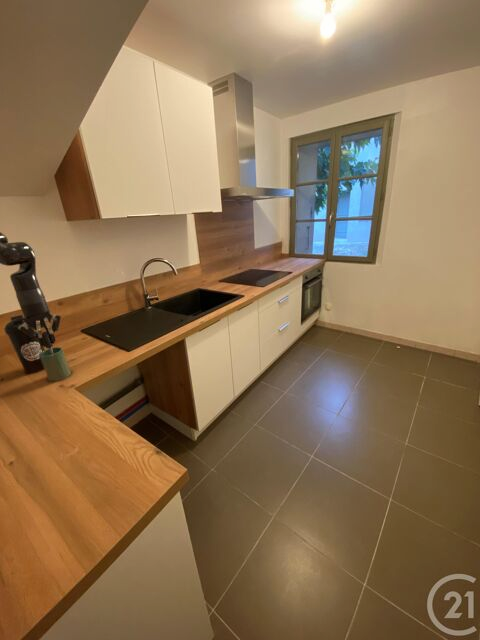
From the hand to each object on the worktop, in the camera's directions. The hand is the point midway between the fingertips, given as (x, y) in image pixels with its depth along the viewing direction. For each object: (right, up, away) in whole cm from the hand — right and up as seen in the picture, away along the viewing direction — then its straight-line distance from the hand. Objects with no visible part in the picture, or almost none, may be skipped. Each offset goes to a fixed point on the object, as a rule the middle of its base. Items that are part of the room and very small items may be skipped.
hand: (48, 344), depth 99 cm
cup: (+1, -13, +5) cm, 14 cm away
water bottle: (-14, -11, +13) cm, 22 cm away
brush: (+1, -10, +4) cm, 11 cm away
